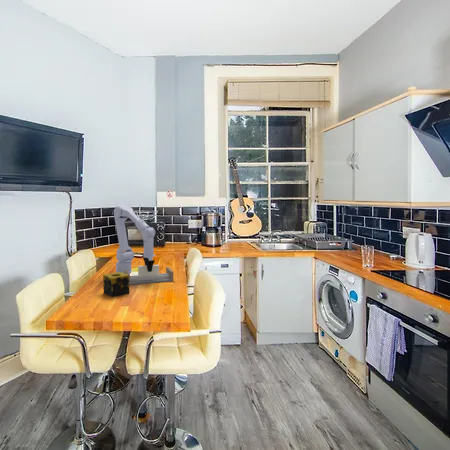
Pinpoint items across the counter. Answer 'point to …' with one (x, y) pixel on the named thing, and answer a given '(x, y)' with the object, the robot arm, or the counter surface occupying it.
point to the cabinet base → (151, 278)
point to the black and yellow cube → (116, 284)
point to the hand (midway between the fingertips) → (148, 270)
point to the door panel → (144, 272)
